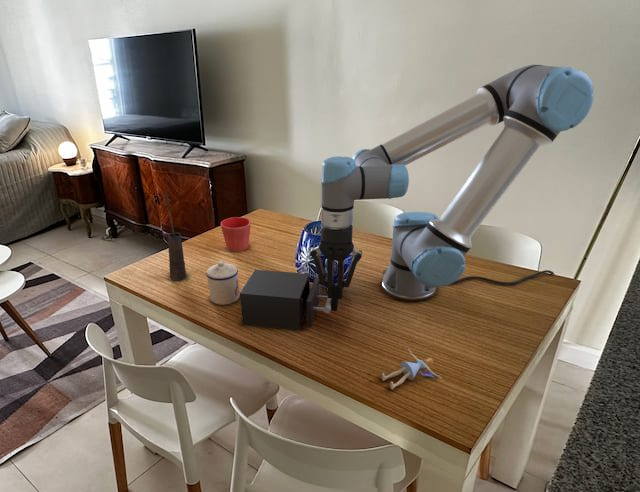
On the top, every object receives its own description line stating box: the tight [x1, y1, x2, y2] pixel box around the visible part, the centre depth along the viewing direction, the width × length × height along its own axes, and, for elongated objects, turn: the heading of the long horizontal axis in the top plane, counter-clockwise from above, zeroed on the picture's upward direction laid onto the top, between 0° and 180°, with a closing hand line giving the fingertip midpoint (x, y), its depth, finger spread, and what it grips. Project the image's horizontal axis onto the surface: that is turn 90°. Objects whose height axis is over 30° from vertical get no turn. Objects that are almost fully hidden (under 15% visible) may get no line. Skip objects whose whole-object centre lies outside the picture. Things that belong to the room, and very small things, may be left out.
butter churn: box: [165, 190, 187, 281], centre depth 138 cm, size 9×10×28 cm
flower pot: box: [220, 216, 252, 252], centre depth 162 cm, size 11×11×10 cm
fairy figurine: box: [381, 347, 443, 390], centre depth 99 cm, size 12×5×12 cm
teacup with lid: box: [205, 260, 240, 306], centre depth 131 cm, size 12×9×12 cm
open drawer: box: [300, 277, 331, 328], centre depth 121 cm, size 19×12×8 cm, turn 76°
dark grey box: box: [239, 269, 310, 331], centre depth 122 cm, size 16×14×10 cm
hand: (334, 308), depth 119 cm, fingers closed
